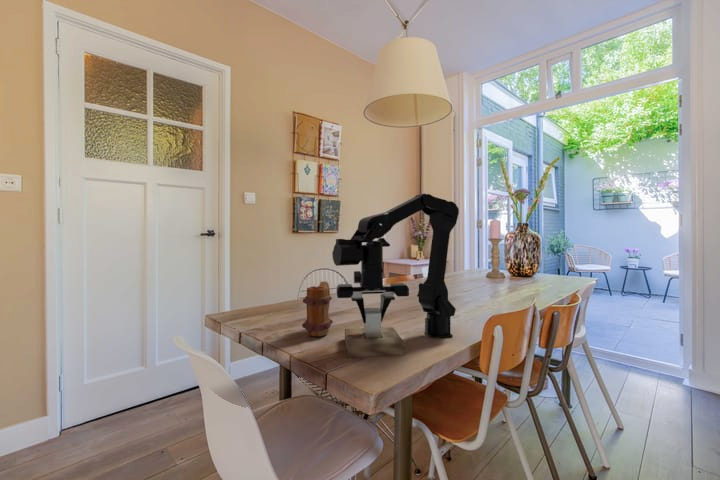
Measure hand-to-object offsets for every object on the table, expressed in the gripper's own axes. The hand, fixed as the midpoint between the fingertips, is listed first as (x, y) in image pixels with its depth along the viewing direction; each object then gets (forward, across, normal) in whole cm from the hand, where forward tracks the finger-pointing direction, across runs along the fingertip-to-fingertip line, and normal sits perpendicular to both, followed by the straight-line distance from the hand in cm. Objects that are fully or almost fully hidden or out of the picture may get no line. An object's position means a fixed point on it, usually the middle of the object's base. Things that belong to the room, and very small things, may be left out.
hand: (372, 322), depth 87 cm
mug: (+7, +14, -15) cm, 22 cm away
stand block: (+6, 0, 0) cm, 6 cm away
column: (+4, 0, 0) cm, 4 cm away
